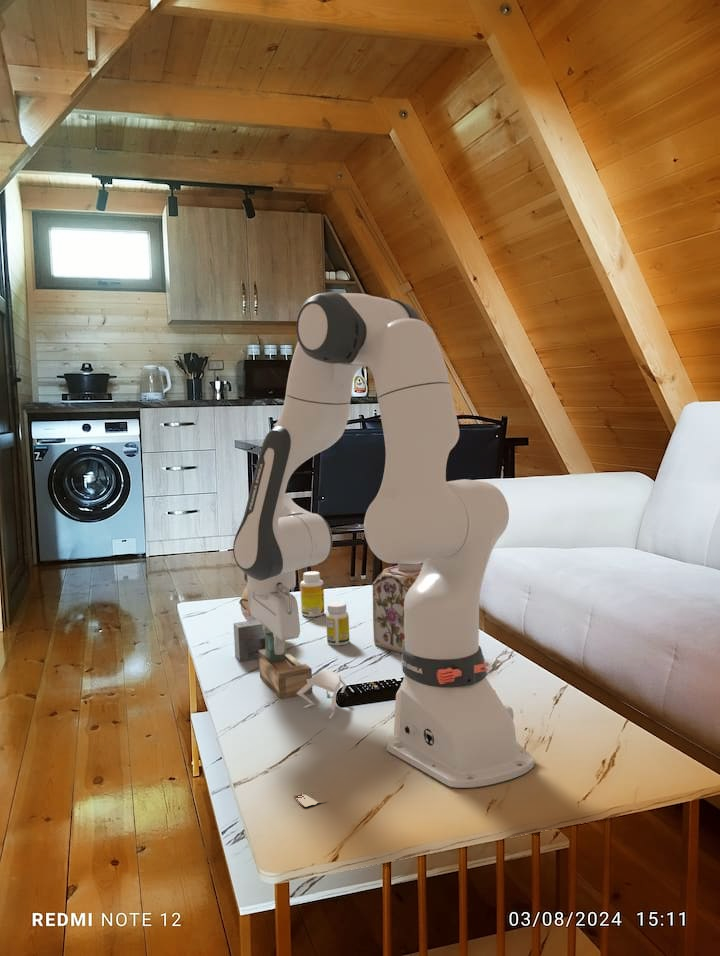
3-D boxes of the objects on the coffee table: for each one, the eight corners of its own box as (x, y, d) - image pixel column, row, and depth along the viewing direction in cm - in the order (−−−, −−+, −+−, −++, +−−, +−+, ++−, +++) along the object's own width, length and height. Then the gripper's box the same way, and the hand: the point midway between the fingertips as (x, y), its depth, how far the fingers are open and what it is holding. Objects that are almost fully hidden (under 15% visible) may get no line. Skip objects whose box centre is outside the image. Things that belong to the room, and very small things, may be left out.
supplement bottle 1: (326, 616, 186) (324, 574, 185) (303, 618, 185) (301, 576, 184) (322, 610, 191) (320, 569, 190) (299, 612, 190) (298, 571, 189)
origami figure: (290, 701, 135) (289, 674, 134) (334, 692, 139) (333, 665, 138) (318, 726, 124) (317, 696, 124) (364, 715, 128) (363, 686, 127)
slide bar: (301, 684, 139) (299, 647, 138) (285, 687, 138) (283, 650, 137) (273, 658, 153) (271, 624, 153) (258, 661, 152) (257, 627, 152)
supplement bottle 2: (350, 639, 168) (349, 601, 167) (348, 646, 163) (346, 607, 163) (328, 639, 169) (327, 601, 168) (325, 646, 164) (324, 607, 163)
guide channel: (312, 692, 138) (311, 668, 138) (280, 699, 136) (279, 674, 135) (290, 671, 149) (289, 649, 149) (260, 677, 147) (259, 654, 146)
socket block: (277, 655, 159) (276, 621, 158) (239, 661, 156) (238, 627, 155) (272, 650, 162) (271, 617, 161) (235, 656, 159) (233, 623, 158)
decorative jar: (372, 645, 164) (369, 561, 162) (411, 632, 171) (409, 552, 170) (412, 658, 155) (410, 569, 153) (452, 644, 163) (450, 559, 161)
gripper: (307, 587, 137) (310, 663, 139) (271, 566, 156) (274, 633, 157) (272, 592, 135) (276, 669, 136) (240, 570, 153) (244, 638, 155)
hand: (275, 650), depth 147 cm, fingers closed on slide bar, 3 cm apart
